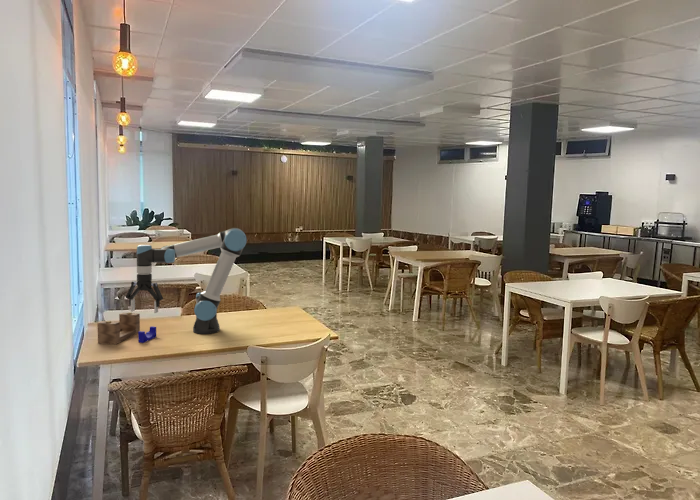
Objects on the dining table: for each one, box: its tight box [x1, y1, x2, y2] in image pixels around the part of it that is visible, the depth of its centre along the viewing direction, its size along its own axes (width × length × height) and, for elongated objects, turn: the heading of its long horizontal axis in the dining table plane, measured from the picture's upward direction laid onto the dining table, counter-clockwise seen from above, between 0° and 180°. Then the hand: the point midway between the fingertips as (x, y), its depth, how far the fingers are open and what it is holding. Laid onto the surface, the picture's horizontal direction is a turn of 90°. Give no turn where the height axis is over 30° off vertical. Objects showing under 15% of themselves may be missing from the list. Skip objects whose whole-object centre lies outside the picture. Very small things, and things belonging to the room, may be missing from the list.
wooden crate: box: [97, 311, 141, 345], centre depth 278 cm, size 10×24×12 cm, turn 173°
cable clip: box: [137, 326, 157, 344], centre depth 277 cm, size 12×4×6 cm, turn 168°
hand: (144, 311), depth 276 cm, fingers open, 13 cm apart
